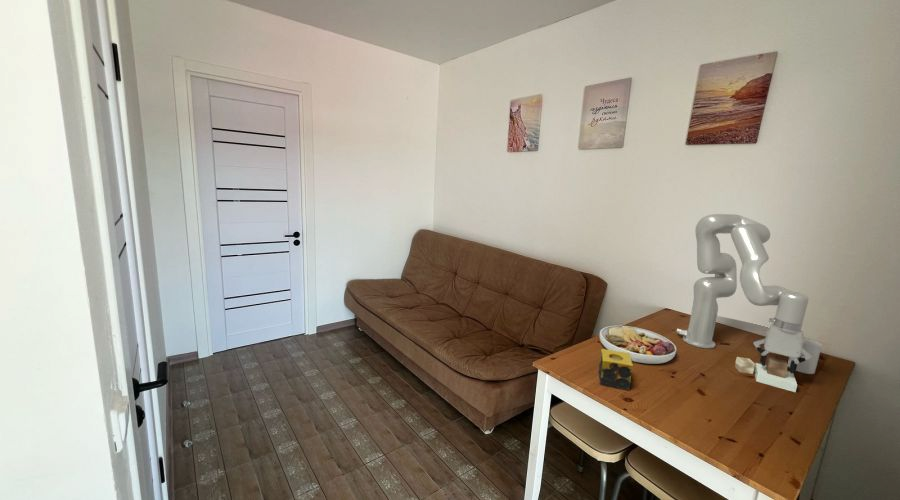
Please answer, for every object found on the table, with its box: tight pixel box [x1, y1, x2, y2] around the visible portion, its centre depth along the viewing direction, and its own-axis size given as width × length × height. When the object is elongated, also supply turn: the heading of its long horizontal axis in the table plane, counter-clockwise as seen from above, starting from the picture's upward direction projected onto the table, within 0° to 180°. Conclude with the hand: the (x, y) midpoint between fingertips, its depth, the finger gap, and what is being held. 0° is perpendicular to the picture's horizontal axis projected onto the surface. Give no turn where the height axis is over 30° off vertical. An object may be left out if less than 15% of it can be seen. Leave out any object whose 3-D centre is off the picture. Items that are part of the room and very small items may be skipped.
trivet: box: [753, 362, 798, 393], centre depth 137 cm, size 11×11×3 cm
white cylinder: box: [787, 337, 823, 375], centre depth 146 cm, size 8×8×12 cm
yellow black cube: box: [598, 348, 634, 391], centre depth 132 cm, size 10×10×10 cm
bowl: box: [599, 325, 677, 365], centre depth 158 cm, size 30×30×8 cm
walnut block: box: [766, 356, 789, 378], centre depth 137 cm, size 5×5×5 cm
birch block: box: [734, 356, 756, 375], centre depth 144 cm, size 4×4×4 cm
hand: (776, 367), depth 136 cm, fingers open, 7 cm apart
